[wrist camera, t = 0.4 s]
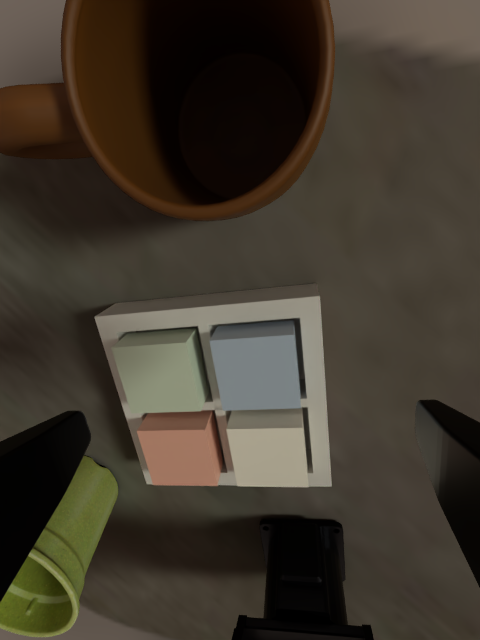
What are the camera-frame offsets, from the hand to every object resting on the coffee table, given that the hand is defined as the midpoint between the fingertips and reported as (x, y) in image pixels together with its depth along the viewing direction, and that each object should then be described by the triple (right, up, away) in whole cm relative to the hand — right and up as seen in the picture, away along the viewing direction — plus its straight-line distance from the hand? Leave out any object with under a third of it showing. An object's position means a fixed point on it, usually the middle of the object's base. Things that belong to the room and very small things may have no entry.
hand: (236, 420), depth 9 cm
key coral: (-3, -5, +14) cm, 15 cm away
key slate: (+1, 0, +11) cm, 11 cm away
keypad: (-1, -2, +14) cm, 14 cm away
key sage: (-4, 0, +12) cm, 13 cm away
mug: (-2, +12, +9) cm, 15 cm away
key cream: (+2, -5, +13) cm, 14 cm away
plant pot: (-13, -11, +20) cm, 26 cm away
